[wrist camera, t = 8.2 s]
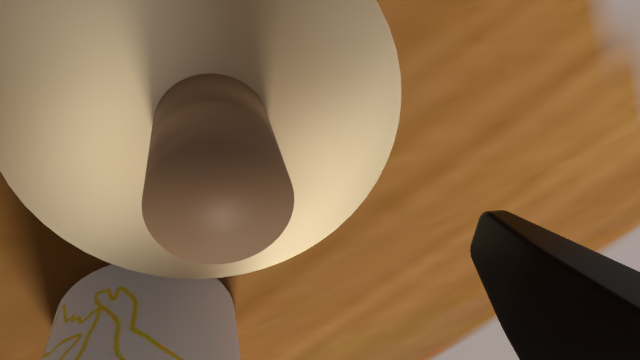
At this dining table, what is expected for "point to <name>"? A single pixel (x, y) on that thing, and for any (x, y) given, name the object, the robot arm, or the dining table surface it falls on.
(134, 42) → the lid
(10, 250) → the dining table surface
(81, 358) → the white cylinder
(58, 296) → the dining table surface
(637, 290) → the robot arm
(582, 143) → the dining table surface
